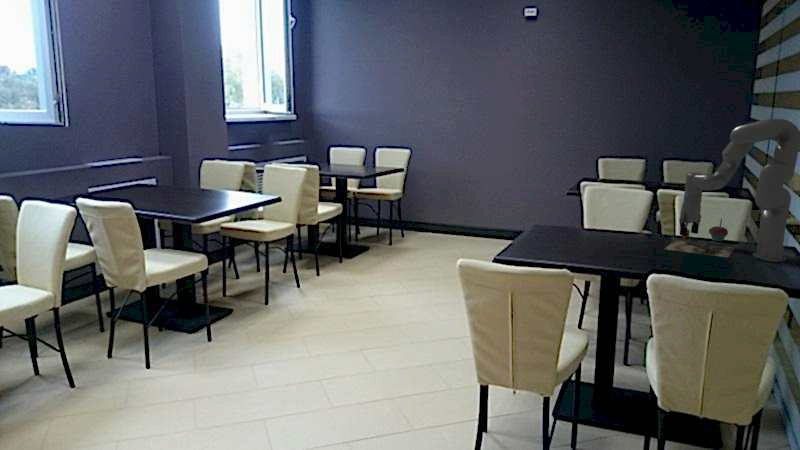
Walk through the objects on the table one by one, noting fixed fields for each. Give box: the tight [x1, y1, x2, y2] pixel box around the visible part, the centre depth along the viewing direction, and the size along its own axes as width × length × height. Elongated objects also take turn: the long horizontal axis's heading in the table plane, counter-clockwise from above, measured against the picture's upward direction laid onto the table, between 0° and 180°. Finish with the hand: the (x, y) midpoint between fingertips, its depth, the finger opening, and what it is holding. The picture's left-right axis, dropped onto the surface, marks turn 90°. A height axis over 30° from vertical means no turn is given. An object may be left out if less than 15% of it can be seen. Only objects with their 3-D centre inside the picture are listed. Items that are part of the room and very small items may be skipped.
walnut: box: [701, 242, 711, 252], centre depth 269 cm, size 4×4×4 cm
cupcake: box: [708, 218, 729, 243], centre depth 298 cm, size 9×8×12 cm
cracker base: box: [664, 238, 736, 258], centre depth 277 cm, size 26×24×3 cm
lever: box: [681, 229, 722, 251], centre depth 279 cm, size 22×5×6 cm, turn 16°
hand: (688, 234), depth 290 cm, fingers open, 9 cm apart
